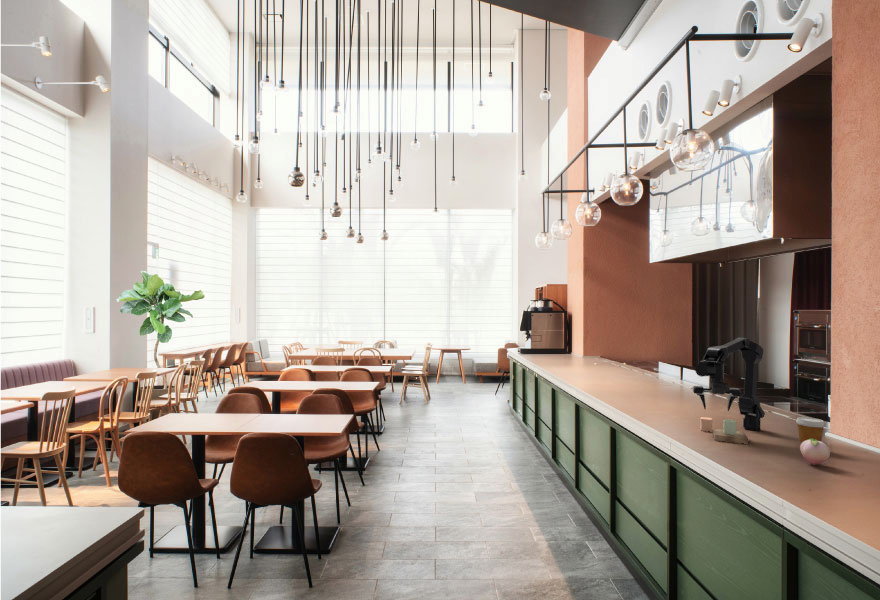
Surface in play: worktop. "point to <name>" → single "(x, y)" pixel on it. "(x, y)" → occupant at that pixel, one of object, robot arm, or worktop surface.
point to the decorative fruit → (814, 451)
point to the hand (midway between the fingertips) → (716, 410)
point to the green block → (729, 426)
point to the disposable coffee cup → (810, 428)
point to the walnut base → (730, 436)
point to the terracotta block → (706, 424)
